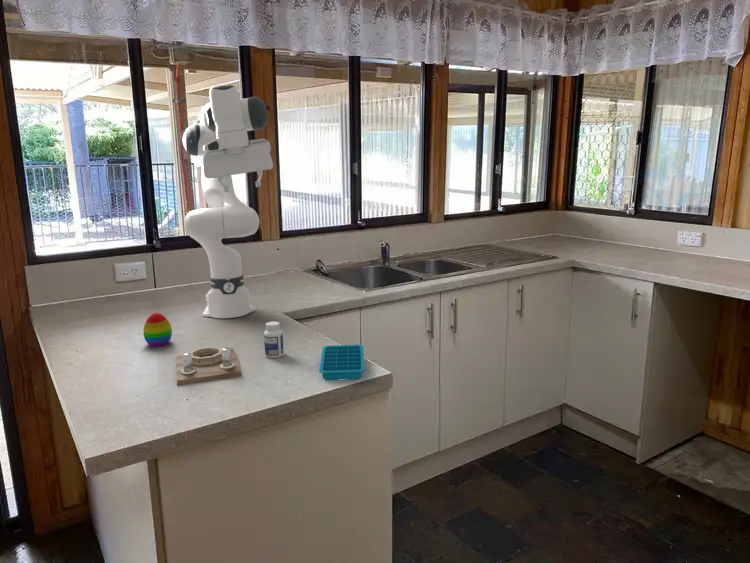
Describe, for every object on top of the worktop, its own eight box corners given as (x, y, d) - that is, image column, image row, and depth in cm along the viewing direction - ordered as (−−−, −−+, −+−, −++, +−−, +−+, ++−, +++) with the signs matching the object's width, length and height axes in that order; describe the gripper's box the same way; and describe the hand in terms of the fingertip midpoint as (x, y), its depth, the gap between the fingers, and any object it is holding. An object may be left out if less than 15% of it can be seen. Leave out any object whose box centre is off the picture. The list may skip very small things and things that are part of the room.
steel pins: (180, 370, 149) (178, 352, 148) (233, 362, 154) (232, 345, 153) (180, 375, 146) (178, 357, 144) (235, 368, 150) (234, 350, 149)
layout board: (176, 358, 161) (175, 348, 160) (233, 351, 166) (232, 341, 166) (177, 384, 143) (176, 373, 142) (240, 375, 148) (240, 364, 147)
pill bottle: (275, 350, 166) (273, 319, 164) (287, 354, 163) (285, 322, 161) (261, 355, 162) (259, 324, 160) (273, 360, 159) (271, 327, 157)
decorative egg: (178, 341, 176) (175, 311, 173) (156, 349, 169) (153, 318, 167) (161, 338, 180) (157, 308, 177) (139, 345, 173) (135, 314, 171)
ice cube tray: (319, 383, 143) (318, 372, 142) (323, 355, 163) (323, 345, 162) (364, 381, 144) (364, 370, 143) (363, 354, 163) (363, 344, 163)
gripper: (268, 138, 169) (276, 183, 172) (198, 147, 164) (208, 194, 168) (269, 136, 163) (278, 184, 166) (197, 146, 158) (208, 195, 162)
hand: (242, 189), depth 167 cm, fingers open, 8 cm apart
